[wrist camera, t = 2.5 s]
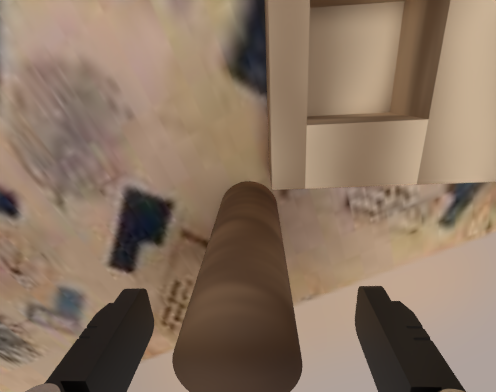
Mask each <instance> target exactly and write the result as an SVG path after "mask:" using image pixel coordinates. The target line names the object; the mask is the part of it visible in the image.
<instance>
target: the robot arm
mask: <svg viewBox="0 0 496 392" xmlns="http://www.w3.org/2000/svg"><path fill="white" fill-rule="evenodd" d="M355 326H356V332H357V336H358V339H359V341H360V344H361V346H362V350H363V352H364V355H365V358H366V360H367V363H368V365H369V368H370V371H371V374H372V376H373V379H374V382H375V384H376V387H377V390H378V392H466V391H465V389H464V388H463V387H462V385H461V384H460V382H459V381H458V379H457V378H456V376H455V375H454V373H453V372H452V370H451V369H450V367H449V366H448V364H447V363H446V361H445V359H444V358H443V356H442V355H441V353H440V352H439V351H438V349H437V347H436V346H435V345H434V343H433V341H431V340H430V337H429V335H428V334H427V332H426V331H425V329H423V328H422V325H421V323H420V322H419V320H418V319H417V317H416V316H415V314H414V313H413V312H412V311H411V310H410V309H408V308H407V307H406V306H405V305H404V304H403V303H401V302H400V301H391V300H390V298H389V296H388V295H387V293H386V291H385V290H384V288H383V287H382V286H360V287H359V289H358V295H357V304H356V314H355ZM153 329H154V317H153V313H152V309H151V305H150V301H149V297H148V293H147V291H146V289H124V290H123V291H122V292H121V293H120V295H119V296H118V298H117V299H116V300H115V302H114V303H109V304H107V305H106V306H105V307H104V308H103V309H101V310H100V311H99V312H98V313H96V315H95V316H94V317H93V319H92V320H91V321H90V323H89V324H88V325H87V328H86V329H84V331H83V332H82V334H81V335H80V336H79V339H77V340H76V342H75V343H74V344H73V346H72V347H71V348H70V350H69V351H68V353H67V354H66V355H65V357H64V358H63V359H62V361H61V362H60V363H59V365H58V366H57V367H56V369H55V370H54V372H53V373H52V374H51V376H50V377H49V378H48V380H47V381H46V382H45V383H44V384H41V385H38V386H35V387H33V388H31V389H29V390H27V391H26V392H127V389H128V387H129V385H130V383H131V381H132V379H133V376H134V374H135V371H136V370H137V367H138V365H139V363H140V361H141V359H142V356H143V354H144V352H145V350H146V347H147V345H148V343H149V341H150V339H151V336H152V333H153Z"/></svg>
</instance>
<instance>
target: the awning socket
mask: <svg viewBox="0 0 496 392" xmlns="http://www.w3.org/2000/svg"><path fill="white" fill-rule="evenodd" d="M265 28H266V69H267V109H268V149H269V171H270V178H271V185H272V190H283V189H310V188H337V187H364V186H391V185H419V184H446V183H473V182H496V0H265Z"/></svg>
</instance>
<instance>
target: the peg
mask: <svg viewBox="0 0 496 392" xmlns="http://www.w3.org/2000/svg"><path fill="white" fill-rule="evenodd" d="M173 368H174V371H175V374H176V376H177V378H178V379H179V381H180V382H181V384H182V385H183V386H184V387H185V388H186V389H187V390H188V391H189V392H290V391H291V390H292V389H293V388H294V387H295V386H296V384H297V383H298V380H299V379H300V376H301V373H302V359H301V352H300V345H299V339H298V333H297V327H296V321H295V314H294V308H293V302H292V296H291V290H290V283H289V277H288V271H287V265H286V259H285V252H284V246H283V240H282V234H281V228H280V221H279V215H278V209H277V203H276V199H275V197H274V195H273V194H272V192H271V191H270V190H269V189H268V188H267V187H265V186H264V185H262V184H259V183H256V182H241V183H238V184H236V185H234V186H232V187H231V188H230V189H229V190H228V191H227V192H226V193H225V195H224V197H223V199H222V202H221V205H220V208H219V211H218V214H217V218H216V221H215V224H214V227H213V230H212V233H211V236H210V240H209V243H208V246H207V249H206V252H205V255H204V258H203V261H202V265H201V268H200V271H199V274H198V277H197V280H196V283H195V286H194V290H193V293H192V296H191V299H190V302H189V305H188V308H187V311H186V315H185V318H184V321H183V324H182V327H181V330H180V333H179V336H178V340H177V343H176V346H175V349H174V353H173Z"/></svg>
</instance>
